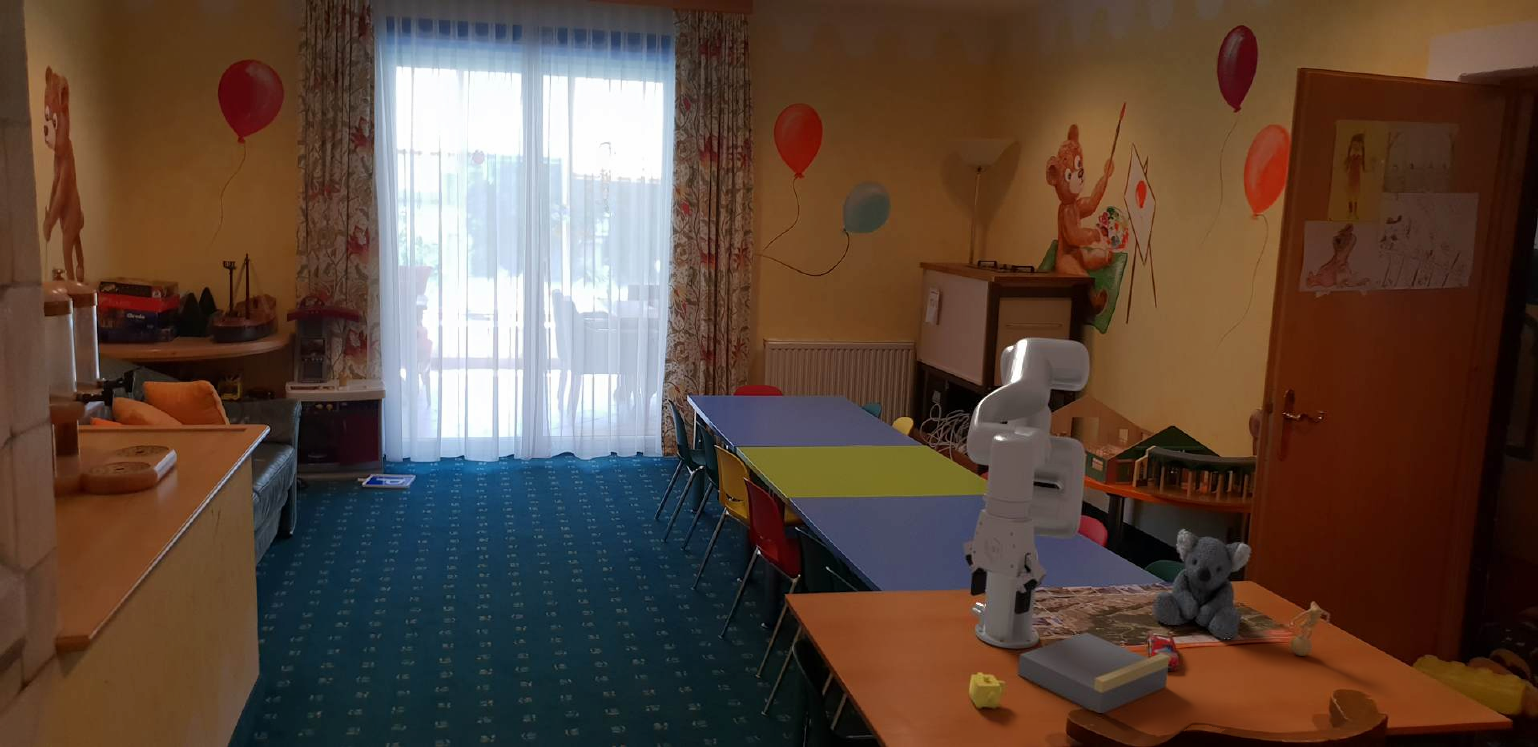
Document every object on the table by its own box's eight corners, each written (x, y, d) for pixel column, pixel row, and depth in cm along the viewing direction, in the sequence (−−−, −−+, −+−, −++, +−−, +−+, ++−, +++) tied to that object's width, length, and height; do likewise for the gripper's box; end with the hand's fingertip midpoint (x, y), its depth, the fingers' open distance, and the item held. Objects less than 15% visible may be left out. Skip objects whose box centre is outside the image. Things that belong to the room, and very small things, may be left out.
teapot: (1010, 715, 186) (1013, 687, 185) (978, 715, 186) (980, 687, 185) (996, 693, 194) (999, 666, 193) (965, 693, 193) (967, 666, 193)
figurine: (1312, 650, 221) (1320, 594, 219) (1331, 663, 215) (1340, 605, 213) (1275, 651, 219) (1282, 594, 217) (1293, 664, 214) (1302, 606, 211)
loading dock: (1017, 674, 202) (1020, 644, 201) (1084, 651, 214) (1087, 622, 213) (1099, 714, 188) (1102, 681, 187) (1165, 686, 200) (1169, 656, 199)
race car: (1178, 676, 206) (1181, 656, 205) (1148, 671, 208) (1150, 651, 207) (1175, 649, 218) (1177, 630, 218) (1146, 644, 220) (1149, 625, 219)
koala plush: (1148, 623, 231) (1158, 535, 227) (1167, 599, 246) (1176, 515, 242) (1235, 644, 222) (1247, 553, 218) (1249, 618, 237) (1261, 531, 233)
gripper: (954, 497, 188) (946, 591, 191) (1034, 523, 175) (1025, 624, 178) (983, 491, 193) (975, 583, 196) (1063, 517, 179) (1054, 615, 182)
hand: (999, 603), depth 187 cm, fingers open, 9 cm apart
